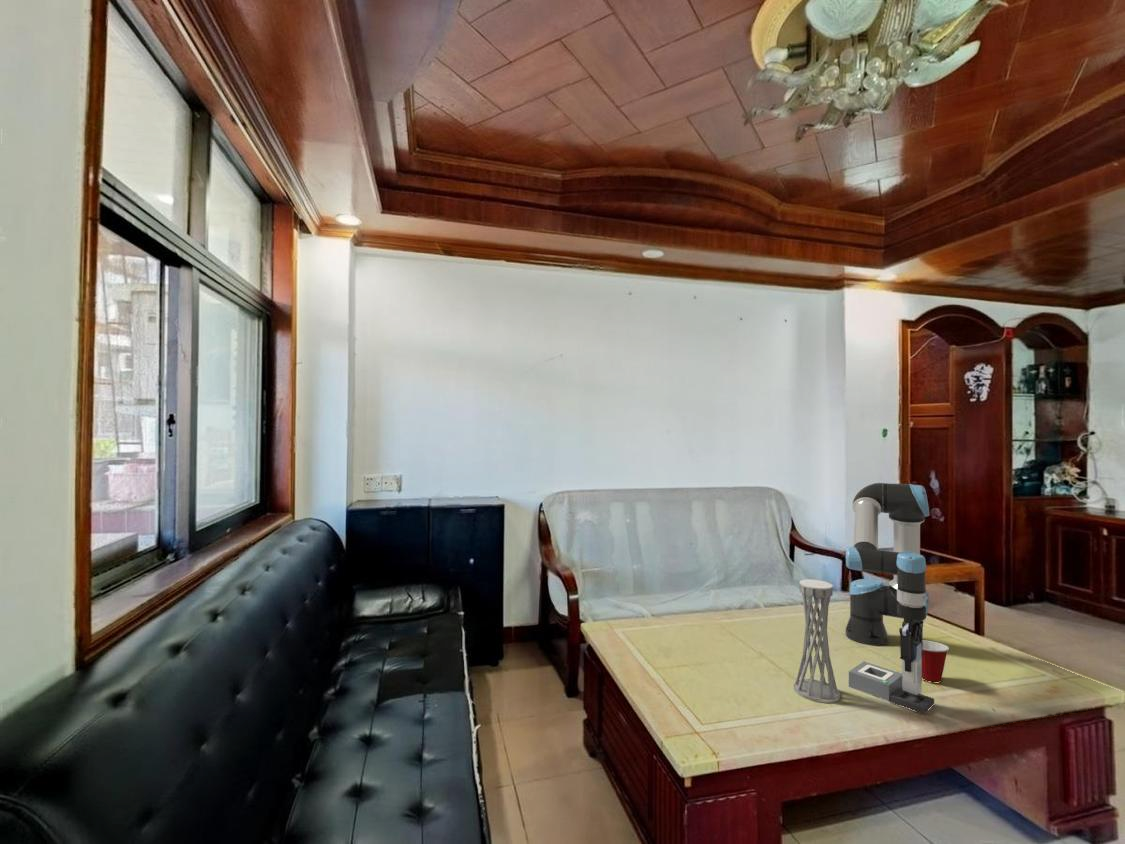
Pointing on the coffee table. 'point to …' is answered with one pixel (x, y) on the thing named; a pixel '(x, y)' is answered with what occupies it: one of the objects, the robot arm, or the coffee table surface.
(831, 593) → the grey tall lattice tower
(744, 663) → the coffee table surface
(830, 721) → the coffee table surface
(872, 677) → the port
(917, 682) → the plug
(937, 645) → the plastic cup
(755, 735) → the coffee table surface
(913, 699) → the dark grey slot tray
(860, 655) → the coffee table surface
